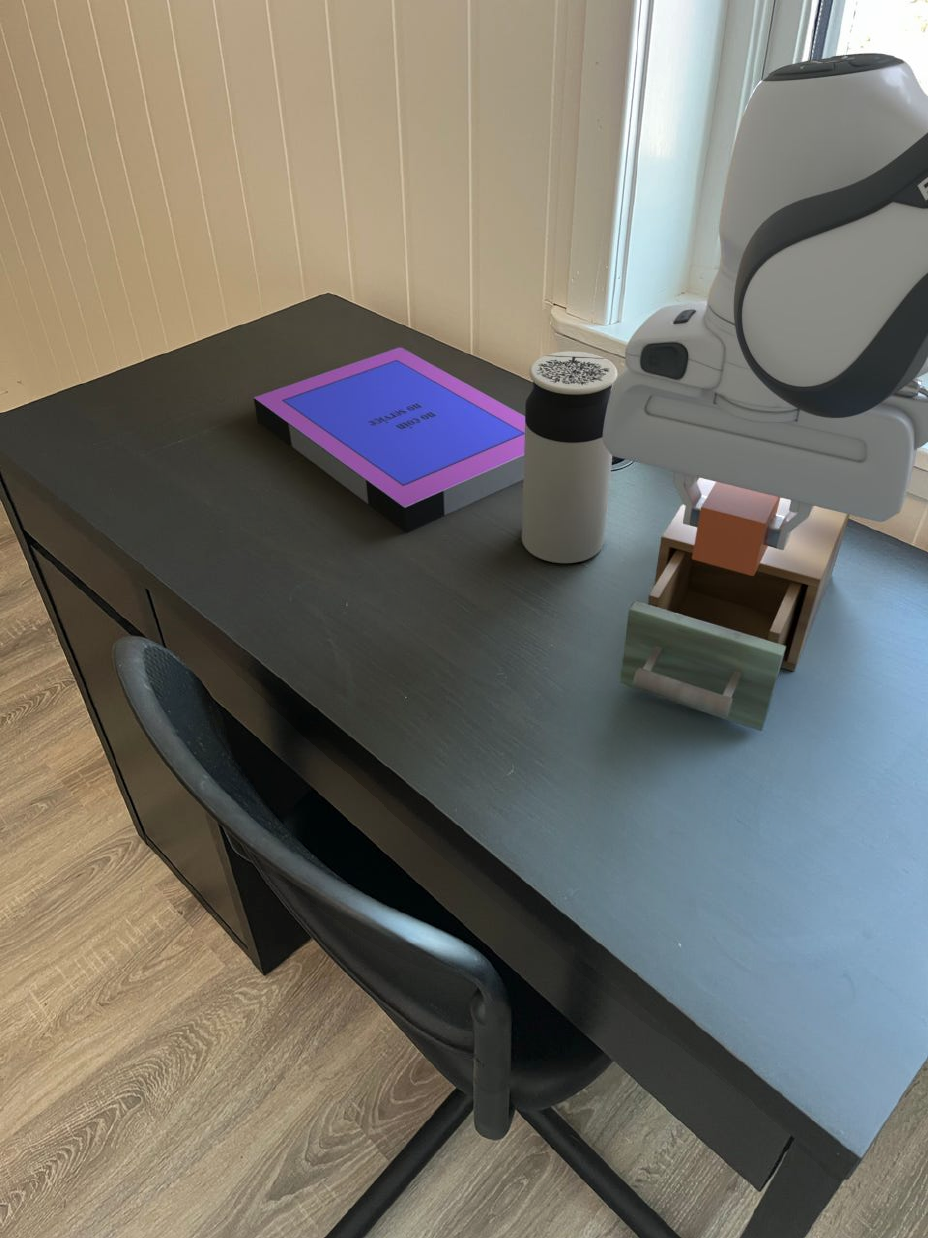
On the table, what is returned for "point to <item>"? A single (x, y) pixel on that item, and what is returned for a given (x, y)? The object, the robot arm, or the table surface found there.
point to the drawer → (711, 638)
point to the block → (734, 528)
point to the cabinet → (780, 560)
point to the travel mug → (566, 457)
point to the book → (400, 435)
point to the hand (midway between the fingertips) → (734, 532)
